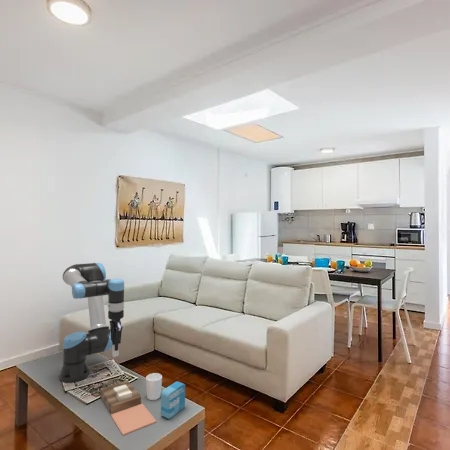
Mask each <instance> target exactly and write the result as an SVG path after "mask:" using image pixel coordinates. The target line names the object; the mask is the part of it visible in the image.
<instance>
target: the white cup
mask: <svg viewBox="0 0 450 450" xmlns="http://www.w3.org/2000/svg"><path fill="white" fill-rule="evenodd" d="M162 383H163V375H162V374H161V373H159V372H155V373H154V372H153V373H149V374H148V375H146V376H145V385H146V386H145V387H146V390H145V391H146V397H147V400H151V401H156V400H158V399H161V393H162V387H163V386H162Z"/></svg>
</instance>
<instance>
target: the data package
mask: <svg viewBox="0 0 450 450" xmlns="http://www.w3.org/2000/svg"><path fill="white" fill-rule="evenodd" d="M185 405H186V384H185V383H183V382H180V381H175V382H174V383H172V384H170V385H169V386H167V387H166V388H164V389H162V390H161V396H160V415H161V416H162V417H163V418H165V419H168V420H169V419H171V418H173V417H174V416H175V415H177V414H178V413H179V412H181V411H182V410H183V409H184V408H185V407H186V406H185Z"/></svg>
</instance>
